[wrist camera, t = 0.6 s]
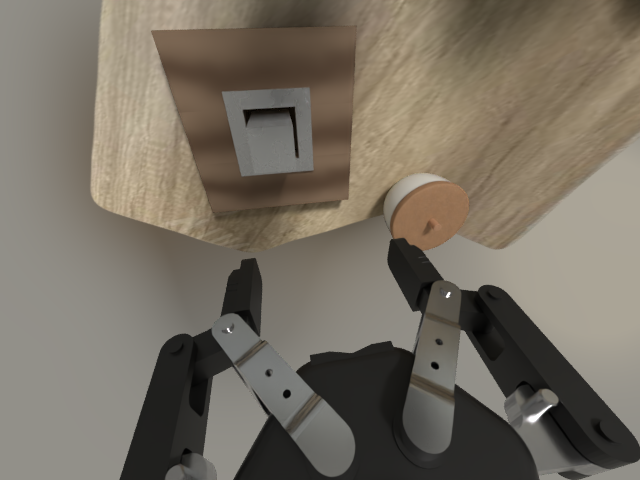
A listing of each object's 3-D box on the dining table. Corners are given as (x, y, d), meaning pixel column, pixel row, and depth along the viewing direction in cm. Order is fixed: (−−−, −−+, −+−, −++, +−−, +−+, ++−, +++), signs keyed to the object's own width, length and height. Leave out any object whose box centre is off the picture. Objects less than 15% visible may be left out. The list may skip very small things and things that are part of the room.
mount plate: (161, 32, 28) (149, 30, 25) (349, 28, 30) (357, 25, 27) (216, 203, 41) (212, 214, 38) (344, 191, 43) (348, 200, 41)
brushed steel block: (252, 111, 34) (245, 128, 26) (288, 109, 34) (292, 125, 26) (258, 148, 37) (254, 173, 29) (291, 145, 37) (296, 170, 30)
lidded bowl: (435, 149, 41) (479, 174, 33) (441, 208, 49) (477, 241, 40) (366, 180, 43) (389, 212, 34) (381, 232, 50) (404, 269, 42)
